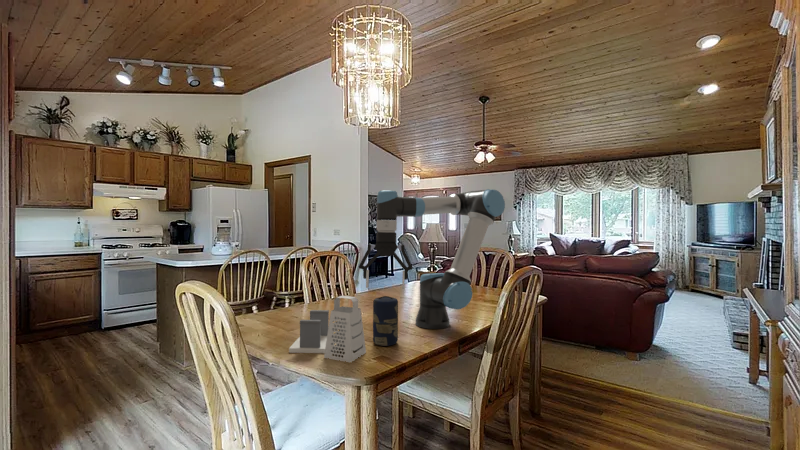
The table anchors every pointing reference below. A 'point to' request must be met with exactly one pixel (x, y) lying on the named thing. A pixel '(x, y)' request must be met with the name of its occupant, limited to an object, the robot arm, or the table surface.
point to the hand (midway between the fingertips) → (385, 287)
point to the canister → (385, 321)
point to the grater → (345, 332)
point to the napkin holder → (312, 333)
